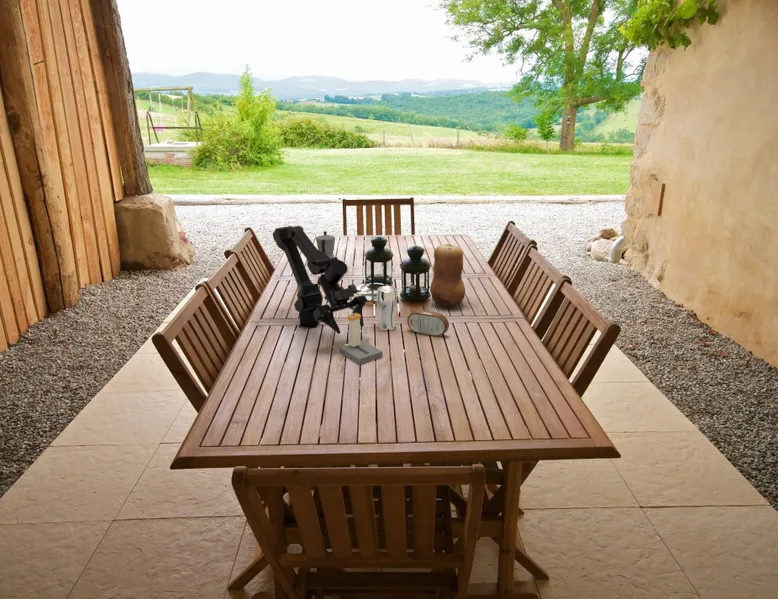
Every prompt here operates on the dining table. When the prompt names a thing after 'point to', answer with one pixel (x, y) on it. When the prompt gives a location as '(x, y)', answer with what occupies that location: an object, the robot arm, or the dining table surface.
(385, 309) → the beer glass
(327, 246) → the coffeepot
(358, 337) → the lever
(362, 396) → the dining table surface
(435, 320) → the tin
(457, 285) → the butternut squash
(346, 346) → the switch plate
